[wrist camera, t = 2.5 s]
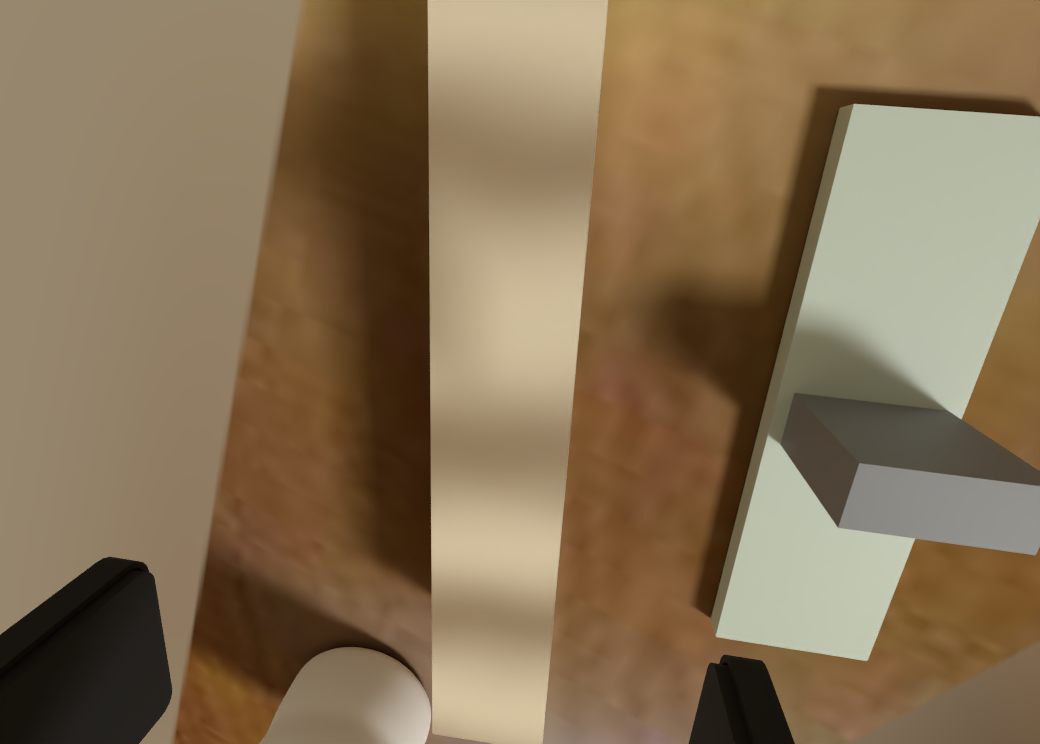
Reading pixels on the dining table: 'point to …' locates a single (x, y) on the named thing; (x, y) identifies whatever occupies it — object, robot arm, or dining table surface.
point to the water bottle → (352, 702)
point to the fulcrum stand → (886, 379)
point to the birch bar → (504, 340)
